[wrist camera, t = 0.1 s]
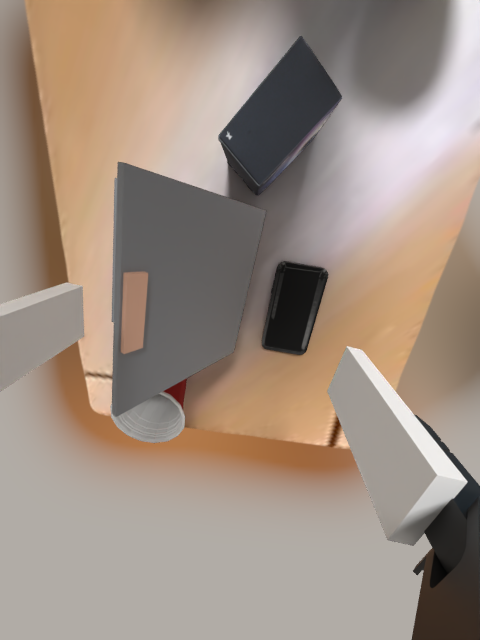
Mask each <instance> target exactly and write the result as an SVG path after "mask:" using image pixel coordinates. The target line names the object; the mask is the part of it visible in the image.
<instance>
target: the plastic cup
mask: <svg viewBox="0 0 480 640" xmlns="http://www.w3.org/2000/svg"><path fill="white" fill-rule="evenodd" d="M186 381H187V378H186V379H184V380H183V381H181V382H179V383H177V384H175V385H173V386H172V387H170V388H168V389H166V390H164V391H163V392H161V393H159V394H157V395H155V396H154V397H152V398H150V399H148V400H146V401H145V402H143V403H141V404H139V405H137V406H135V407H134V408H132V409H130V410H128V411H126V412H125V413H123V414H121V415H119V416H117V417H115V416H114V415H113V414H112V404H111V417H112V419H113V421H114V422H115V424H116V426H117V427H118V428H119V429H120V430H122V431H123V432H124V433H125V434H127V435H128V436H130V437H132V438H135V439H137V440H140V441H144V442H151V443H157V442H165V441H169V440H171V439H173V438H175V437H177V436H178V435H179V434H180V432H181V431H182V430H183V428H184V424H185V414H184V412H183V402H184V396H185V389H186Z"/></svg>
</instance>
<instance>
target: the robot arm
mask: <svg viewBox="0 0 480 640" xmlns="http://www.w3.org/2000/svg"><path fill="white" fill-rule="evenodd" d="M82 337H84V318H83V286H80V285H75V284H71V283H64V284H61V285H58V286H55V287H52V288H48V289H45V290H42V291H39V292H36V293H33V294H30V295H27V296H23V297H20V298H17V299H14V300H11V301H8V302H5V303H2V304H0V392H1V391H2V390H4V389H5V388H7V387H8V386H9V385H11V384H13V383H14V382H16V381H17V380H19V379H20V378H22V377H23V376H25V375H26V374H28V373H29V372H31V371H32V370H34V369H35V368H37V367H38V366H40V365H41V364H43V363H44V362H46V361H48V360H49V359H50V358H52V357H54V356H55V355H57V354H58V353H60V352H61V351H63V350H64V349H65V348H67V347H69V346H70V345H72V344H73V343H75V342H76V341H78V340H79V339H81V338H82ZM327 392H328V394H329V397H330V399H331V401H332V404H333V406H334V409H335V411H336V414H337V416H338V419H339V421H340V424H341V426H342V429H343V431H344V434H345V436H346V439H347V441H348V444H349V446H350V449H351V451H352V453H353V456H354V458H355V460H356V463H357V466H358V468H359V470H360V473H361V476H362V478H363V481H364V483H365V486H366V488H367V491H368V493H369V496H370V498H371V500H372V503H373V505H374V508H375V510H376V513H377V515H378V518H379V520H380V523H381V525H382V528H383V530H384V532H385V535H386V538H387V540H390V541H394V542H398V543H403V544H408V545H412V546H414V545H415V544H416V542H417V541H418V540H419V539H420V538H421V537H422V535H423V534H424V533H425V534H426V536H427V538H428V540H429V542H430V544H431V546H432V547H433V548H432V549H431V550H430V551H429V552H428V553H427V554H426V556H425V557H424V558H423V559H422V560H421V561H420V562H419V563H418V564H417V565H416V567H415V569H414V570H413V572H414V573H416V575H418V574H419V573H420V572H421V570H424V573H423V578H422V584H421V590H420V595H419V601H418V607H417V613H416V618H415V625H414V629H413V635H412V640H480V486H479V485H478V483H477V482H476V481H475V480H474V479H473V477H472V476H471V475H470V474H469V473H468V472H467V470H466V469H465V468H464V467H463V465H462V464H461V463H460V462H459V461H458V459H457V458H456V457H455V456H454V455H453V453H450V450H449V449H448V447H447V446H446V445H445V444H444V443H443V442H441V439H440V438H439V437H438V435H437V434H436V433H435V432H434V431H433V429H432V428H431V427H430V426H429V425H427V424H426V423H425V422H424V421H423V420H421V419H420V418H419V417H418V416H417V415H414V414H413V413H412V412H411V410H410V409H409V408H408V407H407V406H406V404H405V403H404V402H403V400H401V398H400V397H399V396H398V394H397V393H396V392H395V391H394V389H393V388H392V387H391V386H390V384H389V383H388V382H387V381H386V379H385V378H384V377H383V376H382V374H381V373H380V372H379V371H378V369H377V368H376V367H375V366H374V364H373V363H372V362H371V361H370V359H369V358H368V357H367V356H366V354H365V353H364V352H363V351H362V350H361V349H356V348H352V347H346V349H345V351H344V354H343V356H342V358H341V361H340V363H339V365H338V367H337V370H336V372H335V374H334V377H333V379H332V381H331V384H330V386H329V388H328V391H327Z"/></svg>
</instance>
